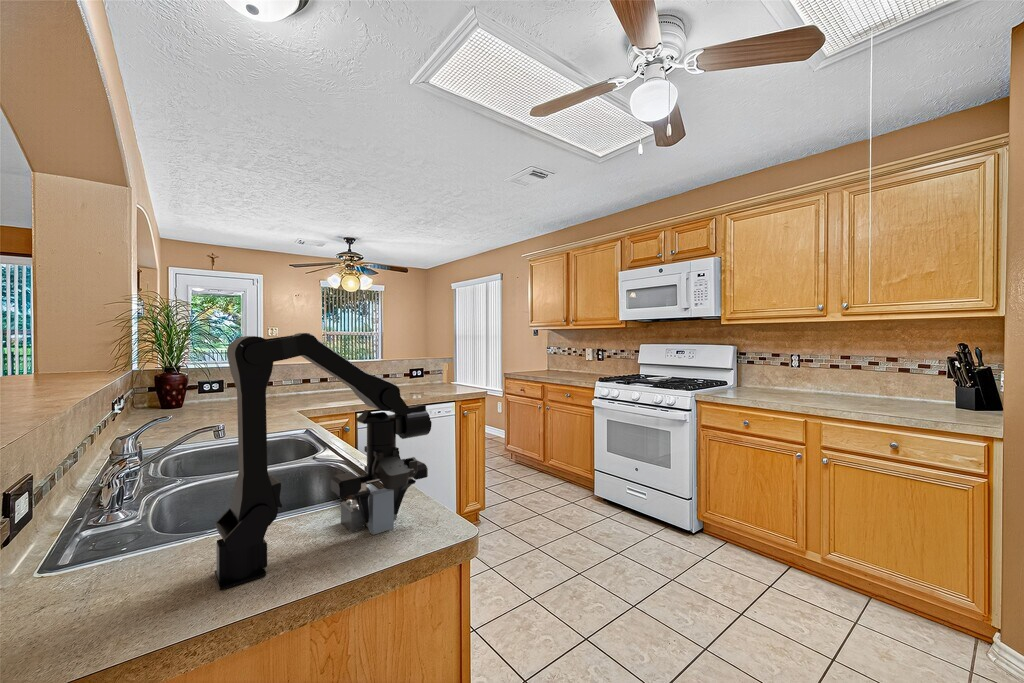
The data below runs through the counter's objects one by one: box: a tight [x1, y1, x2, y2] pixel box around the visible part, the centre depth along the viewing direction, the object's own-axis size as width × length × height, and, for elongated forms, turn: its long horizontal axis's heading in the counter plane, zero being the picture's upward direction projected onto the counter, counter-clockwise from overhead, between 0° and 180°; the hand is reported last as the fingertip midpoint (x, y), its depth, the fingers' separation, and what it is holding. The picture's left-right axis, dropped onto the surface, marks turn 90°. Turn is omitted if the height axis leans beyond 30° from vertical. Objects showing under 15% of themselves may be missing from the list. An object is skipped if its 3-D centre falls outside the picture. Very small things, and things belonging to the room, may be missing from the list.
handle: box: [364, 487, 395, 536], centre depth 92 cm, size 4×9×8 cm, turn 41°
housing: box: [340, 497, 398, 533], centre depth 94 cm, size 10×6×5 cm, turn 131°
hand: (381, 518), depth 89 cm, fingers open, 6 cm apart
